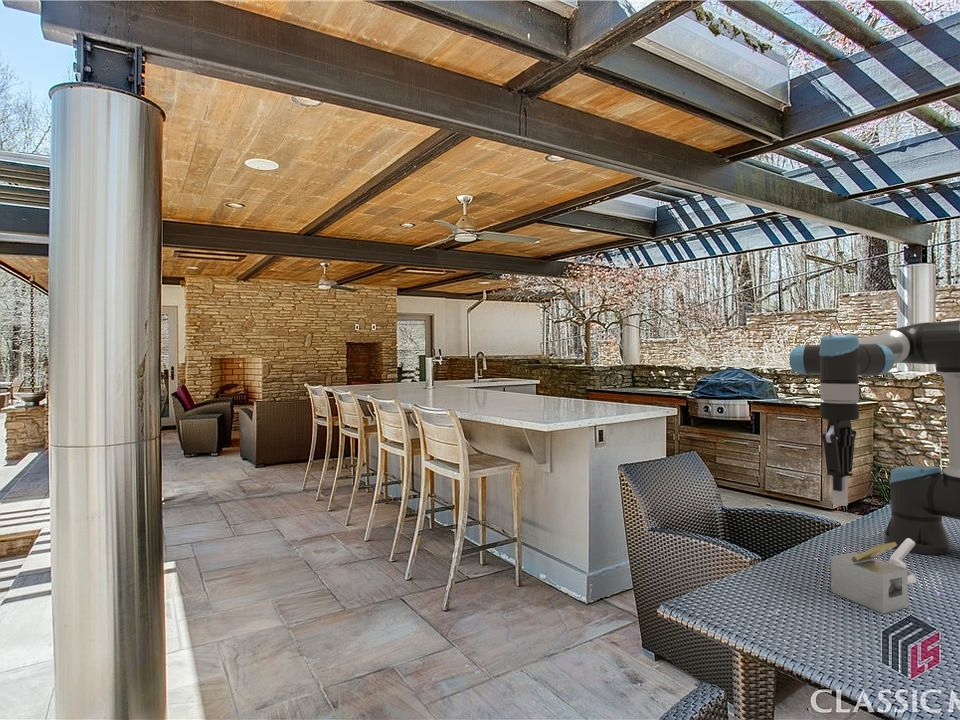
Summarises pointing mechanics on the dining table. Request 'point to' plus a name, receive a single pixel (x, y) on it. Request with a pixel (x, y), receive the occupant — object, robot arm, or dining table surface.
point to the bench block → (869, 582)
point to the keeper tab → (873, 552)
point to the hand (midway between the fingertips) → (839, 504)
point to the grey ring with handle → (900, 554)
